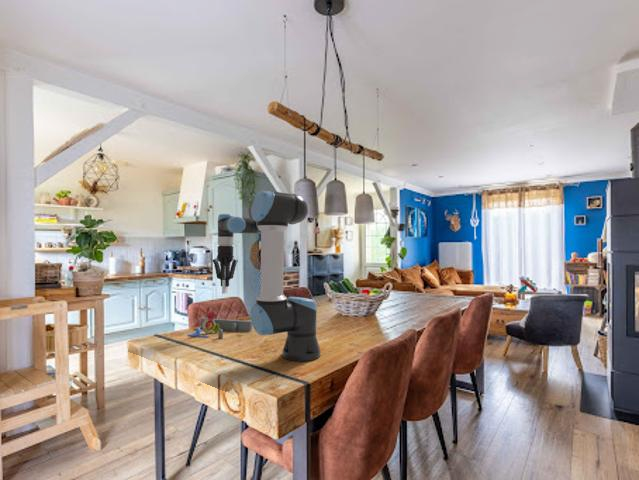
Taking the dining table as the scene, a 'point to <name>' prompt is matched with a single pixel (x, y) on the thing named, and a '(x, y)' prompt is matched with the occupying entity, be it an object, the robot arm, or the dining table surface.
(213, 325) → the bird rattle
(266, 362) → the dining table surface
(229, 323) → the duct rack
